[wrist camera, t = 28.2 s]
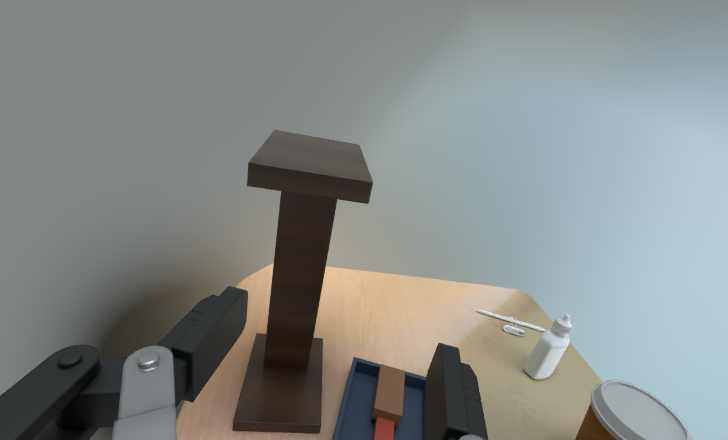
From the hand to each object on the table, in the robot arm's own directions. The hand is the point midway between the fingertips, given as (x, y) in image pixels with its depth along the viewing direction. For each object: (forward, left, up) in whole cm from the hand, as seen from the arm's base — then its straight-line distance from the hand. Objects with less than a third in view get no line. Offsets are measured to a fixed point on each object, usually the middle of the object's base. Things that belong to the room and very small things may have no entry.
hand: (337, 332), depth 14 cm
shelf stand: (-18, +15, -30) cm, 38 cm away
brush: (-3, +18, -30) cm, 35 cm away
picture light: (+1, +56, -31) cm, 64 cm away
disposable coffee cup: (+18, +35, -31) cm, 50 cm away
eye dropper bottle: (+8, +48, -31) cm, 57 cm away
